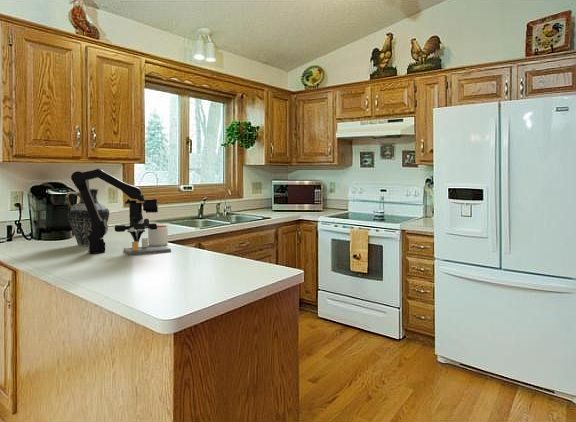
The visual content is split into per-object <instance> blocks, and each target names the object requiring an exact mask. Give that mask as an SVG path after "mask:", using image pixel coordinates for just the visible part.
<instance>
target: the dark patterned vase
mask: <svg viewBox="0 0 576 422" xmlns="http://www.w3.org/2000/svg"><path fill="white" fill-rule="evenodd" d="M89 189H90V192H91V195H92V197H93V200H94V202H95V205H96V207H97V210H98V213H99V215H100V217H101V218H102V220H105V219H106V222H107V223H108V222H109V221H108V220H109V218H110V211H109V208H108V207H107V206H106V205H103V204H102V203H100V202H99V201H98V198H97V197H98V196H97V195H98V191H99V189H98V188H89ZM71 195H72V196H76V197H79V201H78V202H77V203H75V204H73V205H72V204H71V202H70V196H71ZM64 199H65V202H66V204H67V213H66V214H67V219H68V222H69V224H70V228H71V229H72V233H73V235H74V238H75V240H76V243H77V246H81V247H89V243H88V238H87V237H88V236H89V235H90V234H91V233H92V227H91V219H90V216H89V213H88V211H87V208H86V206H85V203H84V201H83V198H82V196H81V193H80V191H79V190H78V191H70V192H67V193H66V195H65V198H64Z"/></svg>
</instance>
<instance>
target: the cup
mask: <svg viewBox="0 0 576 422" xmlns="http://www.w3.org/2000/svg"><path fill="white" fill-rule="evenodd" d="M147 237H148V246H156V245H164V246H167V245H168V244H169V227H168V225H157V229H154V230H151V229H150V228H147Z"/></svg>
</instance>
